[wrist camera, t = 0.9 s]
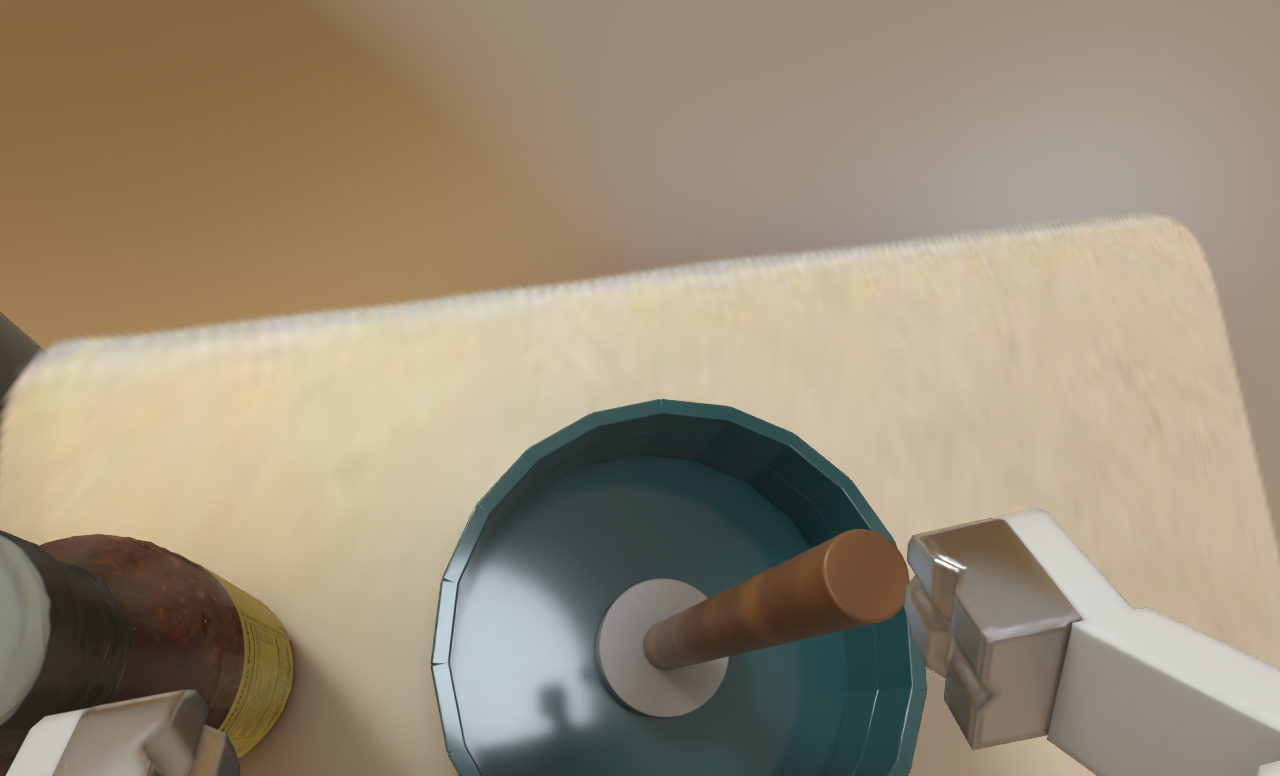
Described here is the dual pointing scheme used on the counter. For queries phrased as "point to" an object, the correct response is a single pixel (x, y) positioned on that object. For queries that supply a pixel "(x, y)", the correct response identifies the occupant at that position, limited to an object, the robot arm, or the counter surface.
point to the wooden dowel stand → (740, 620)
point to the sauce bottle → (131, 637)
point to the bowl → (652, 549)
